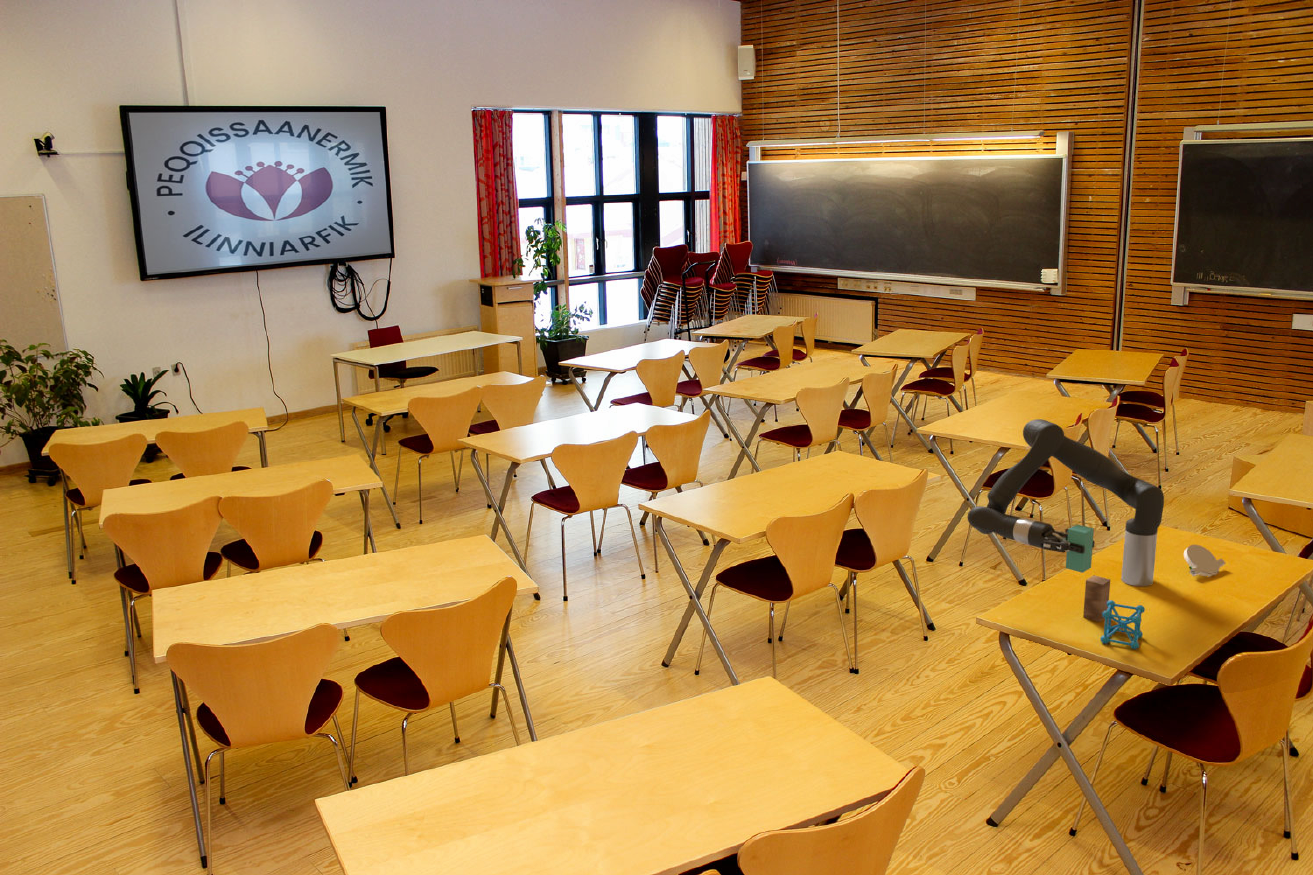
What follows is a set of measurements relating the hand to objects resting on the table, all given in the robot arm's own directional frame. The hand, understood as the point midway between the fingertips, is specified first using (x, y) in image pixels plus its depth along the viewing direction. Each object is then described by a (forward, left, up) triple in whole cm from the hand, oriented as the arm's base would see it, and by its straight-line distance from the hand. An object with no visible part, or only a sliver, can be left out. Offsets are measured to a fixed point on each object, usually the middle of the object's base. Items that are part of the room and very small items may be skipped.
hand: (1088, 547), depth 284 cm
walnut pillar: (-13, +4, -27) cm, 30 cm away
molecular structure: (+2, +10, -27) cm, 29 cm away
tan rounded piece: (-56, +39, -27) cm, 73 cm away
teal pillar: (-1, -2, -7) cm, 7 cm away
